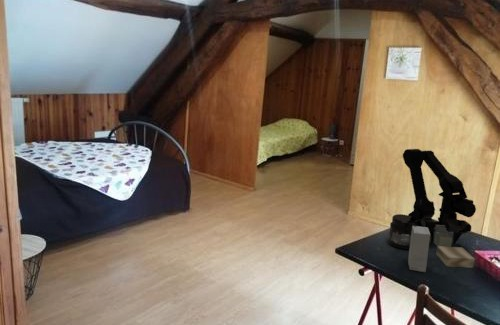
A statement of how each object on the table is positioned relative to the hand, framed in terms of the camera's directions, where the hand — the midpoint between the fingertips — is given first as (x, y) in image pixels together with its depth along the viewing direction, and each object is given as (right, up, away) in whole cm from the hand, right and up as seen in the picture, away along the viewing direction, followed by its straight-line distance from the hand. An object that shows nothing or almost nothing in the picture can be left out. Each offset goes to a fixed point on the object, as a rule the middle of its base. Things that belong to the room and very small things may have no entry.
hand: (442, 243), depth 170 cm
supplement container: (-18, -1, -1) cm, 18 cm away
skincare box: (-19, -5, -19) cm, 28 cm away
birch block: (-2, -5, -13) cm, 14 cm away
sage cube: (0, -1, 0) cm, 1 cm away
